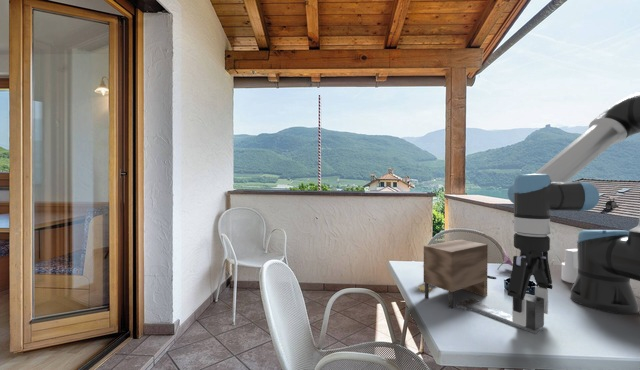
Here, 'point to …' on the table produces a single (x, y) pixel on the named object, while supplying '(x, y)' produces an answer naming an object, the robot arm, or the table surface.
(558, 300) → the table surface
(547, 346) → the table surface
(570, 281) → the cylinder with rectangular tab
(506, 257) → the lily
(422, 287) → the brass disc
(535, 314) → the flat bar with block
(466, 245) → the cabinet
